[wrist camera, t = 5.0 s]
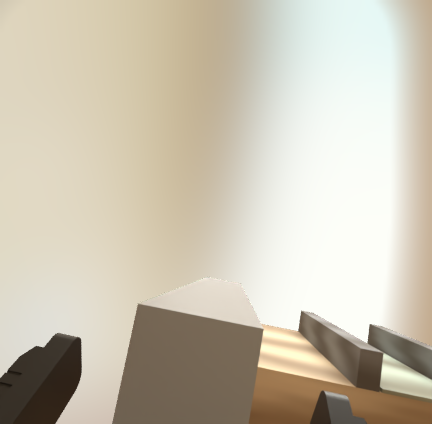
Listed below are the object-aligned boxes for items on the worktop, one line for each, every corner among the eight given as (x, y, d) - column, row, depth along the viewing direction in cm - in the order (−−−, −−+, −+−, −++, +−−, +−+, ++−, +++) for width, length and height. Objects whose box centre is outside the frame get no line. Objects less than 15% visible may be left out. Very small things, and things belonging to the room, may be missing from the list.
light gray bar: (241, 469, 9) (263, 328, 9) (109, 438, 9) (138, 303, 10) (234, 318, 34) (240, 283, 35) (200, 311, 35) (206, 276, 35)
